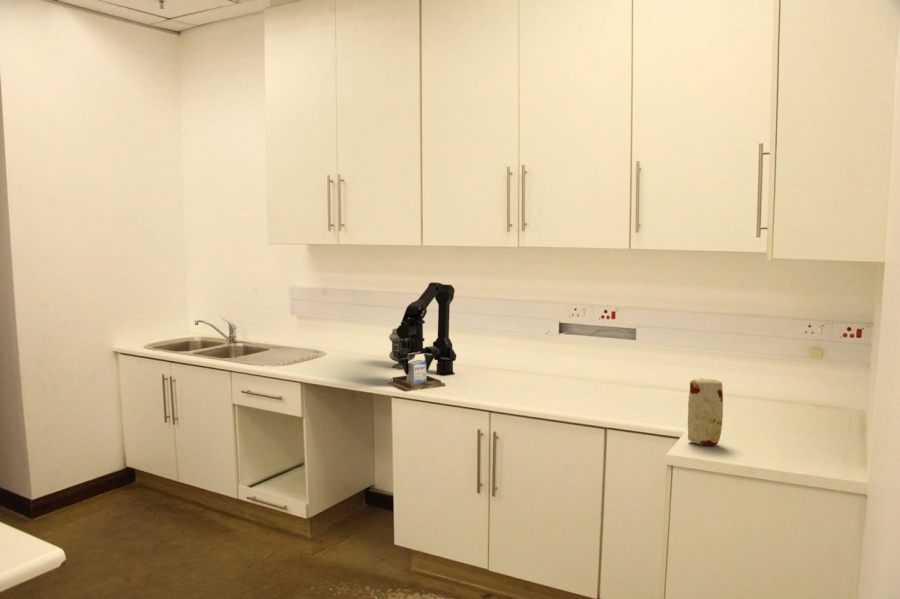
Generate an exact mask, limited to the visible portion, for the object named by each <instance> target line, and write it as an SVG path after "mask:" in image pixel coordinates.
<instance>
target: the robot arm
mask: <svg viewBox="0 0 900 599" xmlns="http://www.w3.org/2000/svg"><path fill="white" fill-rule="evenodd" d="M455 291H456V290H455V287H454V286H453V285H452V284H444V283H443V284H442V283H441V282H434V281H433V282H429V283H428V286H427V287H426V289H425V290H424V291H423V292H422V294H421V295H420V296H419V297H418V299H417V300H415V301H412V302H411V303H409V304H408V305H407V306H406V309H405V311H404V313H403V317H402V320H401V322H400V325H398V327H396V328H397V335H398V337H399V338H401V339H406V338H408V339H407V342H405V341H404V340H401V341H399V348H400V349H401V348H403V350H402V349H401V350H394V352H393V357H395V358H396V359H399V360H400V362H401V364H402V366H403V368H404V369H403V371H404V373H405V375H406V374H408V363H409V361H408V359H407V357H408V355H415V356H416V355H423V357H424V361H426V373H427V372H428V371H429V368H430V367H431V365H432V362H433V361H437V363H436V371H435V374H436V375H440V376H449V375H455V374H456V373H455V372H454V362H456V360H457V354H456V352H455V351H454V349H453V342H452V341H451V339H450V337H449V336H450V311H451V310H450V308H451V307H450V306H451V303H452V302H453V300H454V297H455ZM434 299H435V301H436V303H437V306H438V308H437V311H438V313H437V314H438V315H437V338H436V339H435V340H434V341H433V343H432V345H431V346H429V345H428V346H425V347H424V342H425V338H424V324H425V323H426V321H425V320H424V318H425V317H426V315H427V313H428V310H427V309H428V306H430V304H431V302H432V301H434ZM406 350H409V351H406ZM412 352H413V353H412ZM414 352H415V353H414Z"/></svg>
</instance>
